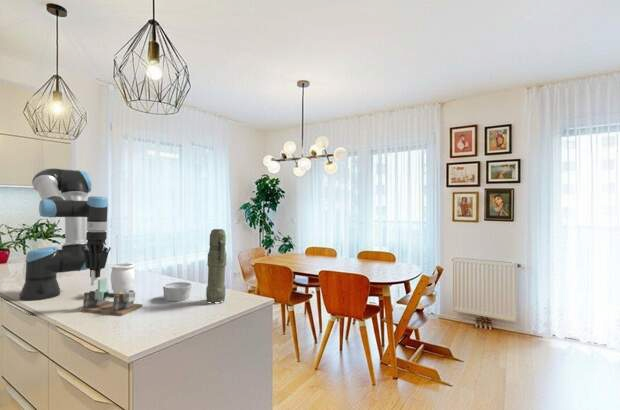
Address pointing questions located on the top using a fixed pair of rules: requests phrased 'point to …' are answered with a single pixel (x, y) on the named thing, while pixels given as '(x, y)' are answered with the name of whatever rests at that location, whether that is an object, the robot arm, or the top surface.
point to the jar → (122, 277)
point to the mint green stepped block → (101, 289)
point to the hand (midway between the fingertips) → (94, 284)
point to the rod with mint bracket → (110, 303)
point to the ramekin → (177, 291)
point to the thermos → (216, 266)
